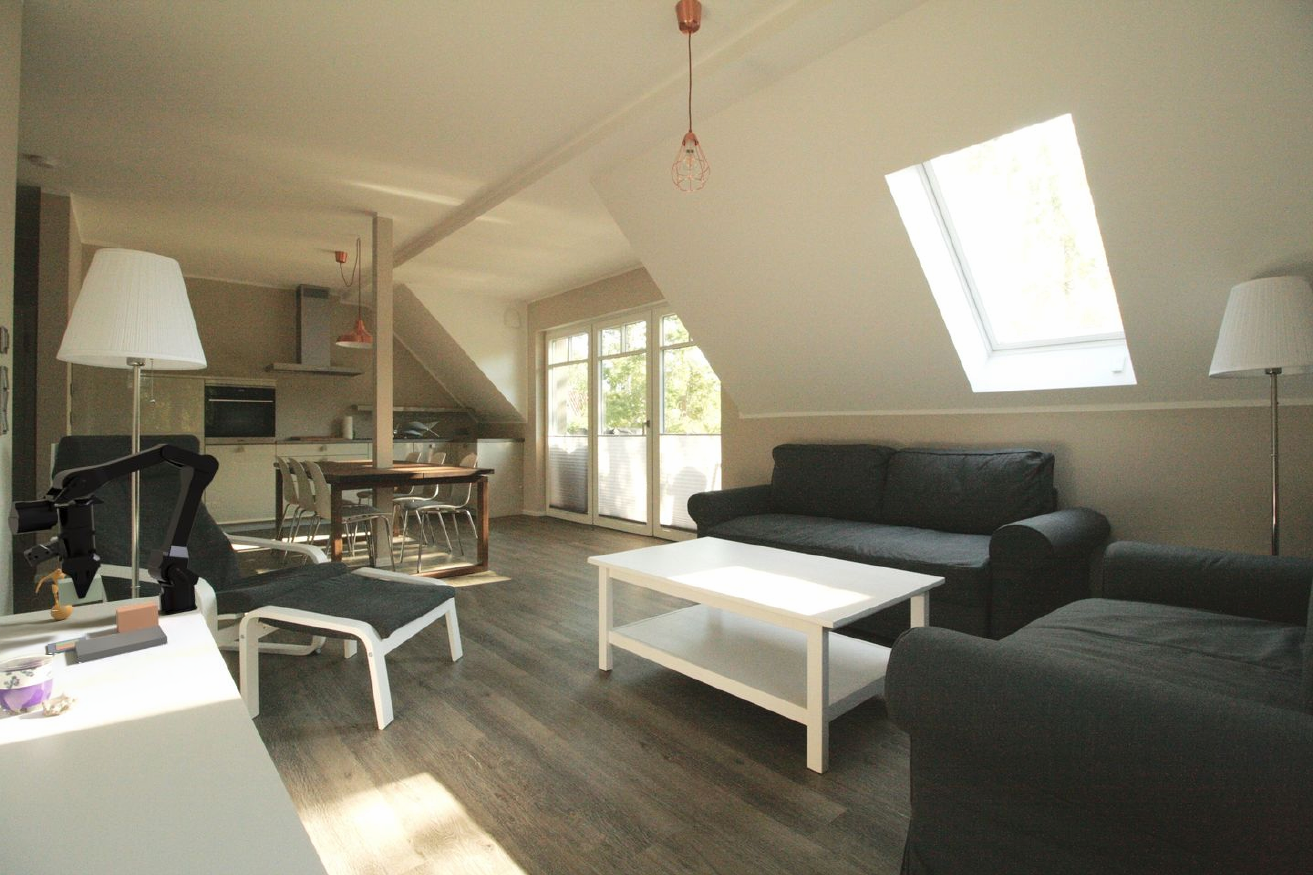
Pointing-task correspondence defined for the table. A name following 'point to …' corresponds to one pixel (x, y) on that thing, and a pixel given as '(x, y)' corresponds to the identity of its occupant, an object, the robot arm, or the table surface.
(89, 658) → the base plate
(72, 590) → the sage brick
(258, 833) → the table surface
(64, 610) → the figurine
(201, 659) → the table surface
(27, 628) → the table surface
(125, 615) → the terracotta brick
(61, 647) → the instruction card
